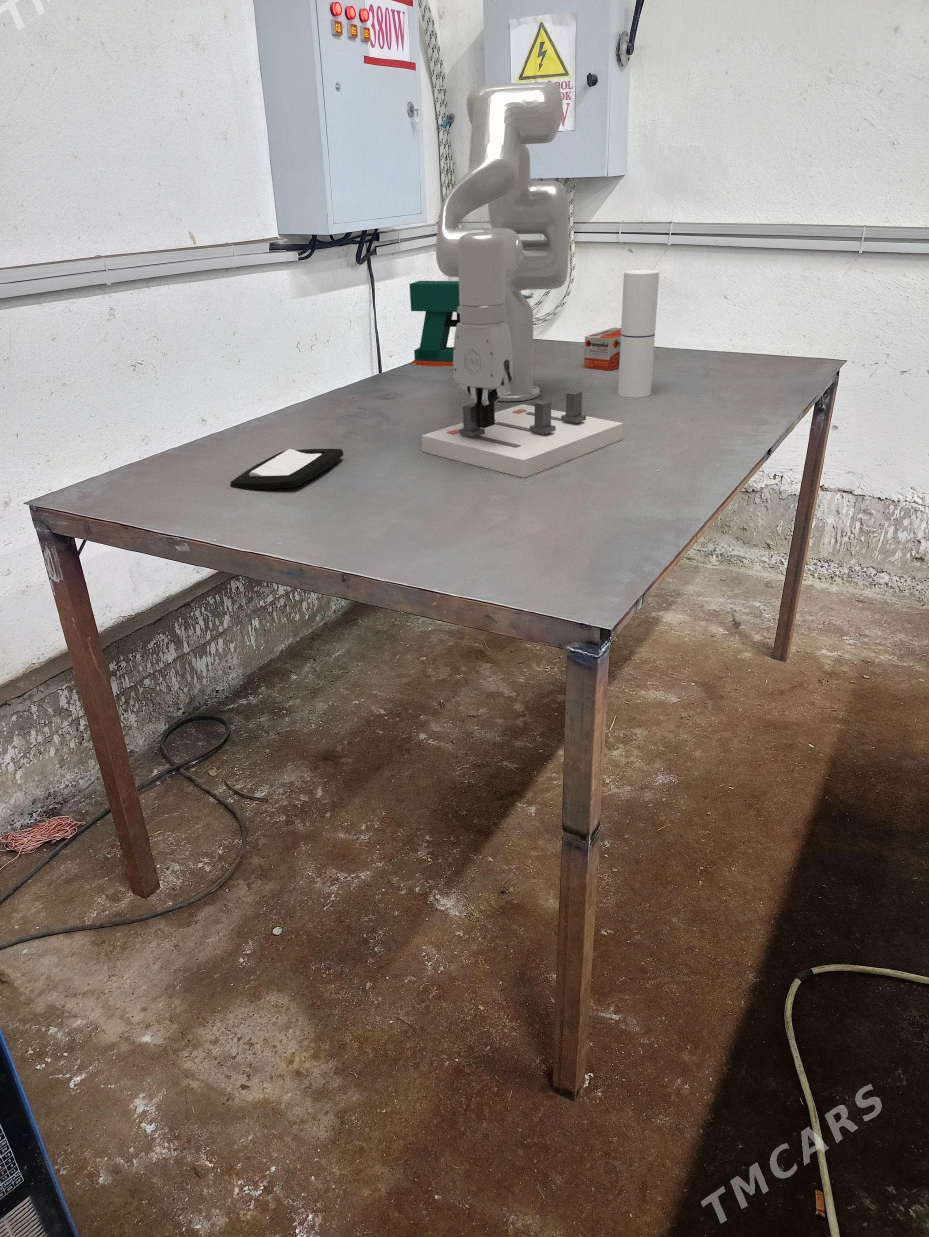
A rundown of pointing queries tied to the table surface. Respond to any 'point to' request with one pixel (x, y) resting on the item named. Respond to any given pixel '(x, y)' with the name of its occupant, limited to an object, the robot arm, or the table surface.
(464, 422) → the breaker
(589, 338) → the medicine box
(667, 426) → the table surface
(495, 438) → the breaker panel
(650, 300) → the cylindrical container
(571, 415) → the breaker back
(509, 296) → the robot arm
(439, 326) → the power tool
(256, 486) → the light switch
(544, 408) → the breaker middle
